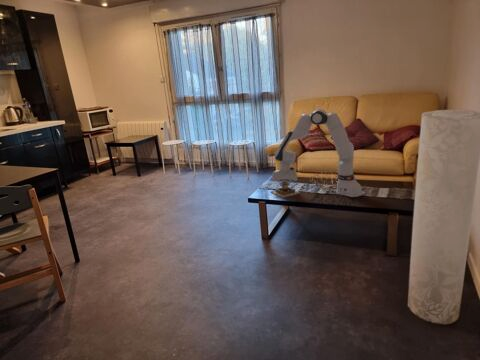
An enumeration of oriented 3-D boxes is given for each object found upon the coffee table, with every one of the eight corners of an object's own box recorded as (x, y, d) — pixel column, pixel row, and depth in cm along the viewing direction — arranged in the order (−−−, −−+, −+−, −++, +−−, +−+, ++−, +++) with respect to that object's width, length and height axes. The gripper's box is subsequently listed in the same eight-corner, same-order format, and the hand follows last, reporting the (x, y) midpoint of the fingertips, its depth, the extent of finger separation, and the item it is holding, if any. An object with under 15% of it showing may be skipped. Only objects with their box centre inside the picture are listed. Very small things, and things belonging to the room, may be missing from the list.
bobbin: (290, 191, 272) (289, 182, 270) (284, 193, 270) (283, 184, 267) (286, 190, 277) (285, 180, 275) (280, 191, 275) (279, 182, 273)
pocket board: (299, 193, 270) (299, 189, 269) (282, 198, 263) (282, 194, 262) (288, 188, 284) (287, 184, 284) (270, 192, 278) (270, 188, 277)
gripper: (272, 169, 277) (271, 183, 270) (297, 168, 273) (297, 183, 266) (272, 172, 282) (272, 187, 276) (297, 171, 278) (297, 186, 272)
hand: (284, 185), depth 271 cm, fingers open, 5 cm apart
